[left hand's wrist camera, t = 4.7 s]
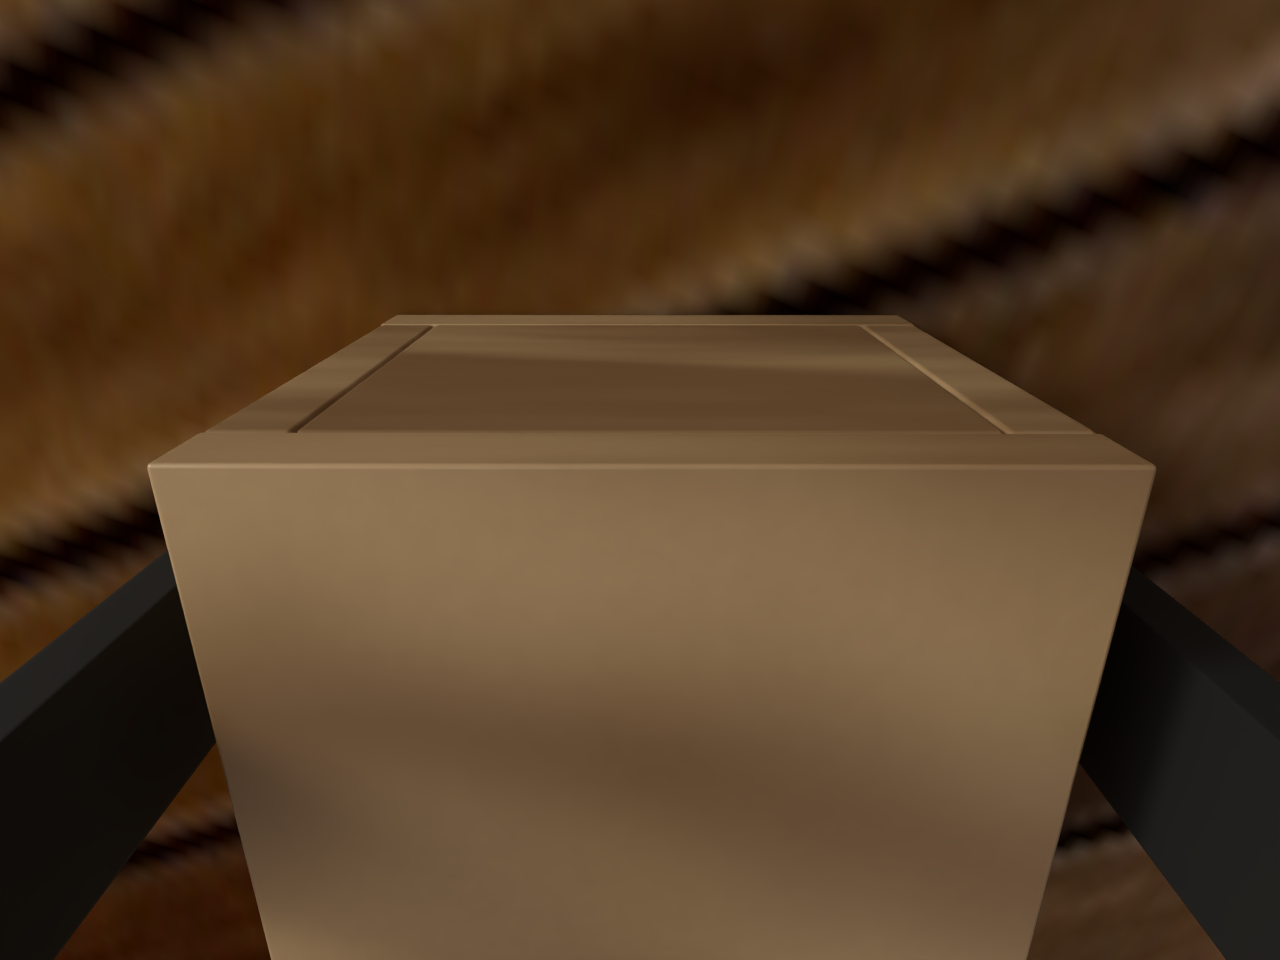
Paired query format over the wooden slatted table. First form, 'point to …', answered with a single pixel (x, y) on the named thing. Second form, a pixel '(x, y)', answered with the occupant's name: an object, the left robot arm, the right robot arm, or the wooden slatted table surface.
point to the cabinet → (650, 638)
